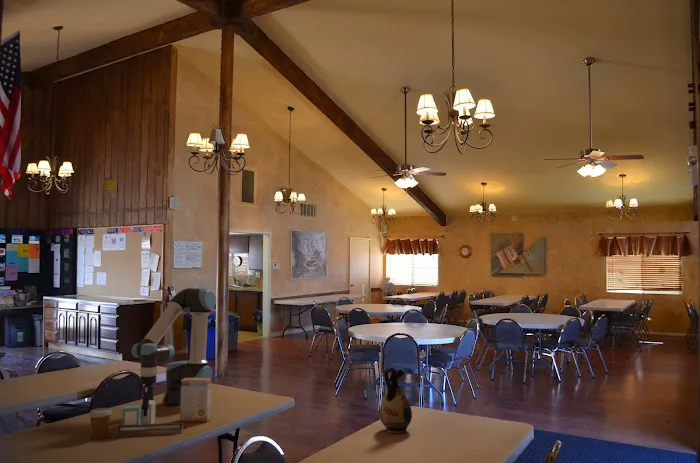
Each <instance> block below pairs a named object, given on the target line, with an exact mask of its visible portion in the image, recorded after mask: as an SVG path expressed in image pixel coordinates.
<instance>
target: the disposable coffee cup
mask: <svg viewBox="0 0 700 463" xmlns="http://www.w3.org/2000/svg"><path fill="white" fill-rule="evenodd" d="M89 411H90V412H89V414H88V415H89V417H90V427H91V435H92V437H91V438H92V439H94V440H101V439H106V438H107V437H108V435H109V428H110V422H111V417H112V416H111V415H112V414H113V411H112V409H111V408H109V407H99V408H93V409H91V410H89Z"/></svg>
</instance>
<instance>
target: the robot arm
mask: <svg viewBox="0 0 700 463" xmlns="http://www.w3.org/2000/svg"><path fill="white" fill-rule="evenodd" d="M215 294H216V293H214V292H213V290H211V289H209V288H195V287H194V288H193V287H192V288H190V287H189V288H188V287H187V288H184V289H181V290H180V291H178V292H177V293H176V294H175V295H174V296H172V298H171V299H170V300H169V301H168V303H167V307H166V309H165V310H164V311H163V312H162V314H161V315H160V316H159V317H158V319H157V321H155V323H154V324H153V326H152V327H151V328H150V330H149V331H148V332H147V334H146V335H145V336H144V338H143V339H142V340H141V342H136V343H135V344H133V346H132V347H131V354H132V356H133V357H134V358H137V359H140V368H139V372H140V380H139V383H140V384H141V385H144V387H143V394H142V402H143V403H142V402H141V403H142V408H141V409H143V414H142V423H148V419H149V409H148V406H149V400H155V399H154V386H153V385H154V384H156V383H157V373H158V372H157V370H158V369H157V367H158V366H157V363H158V362H159V361H160V362H161V361H165V360H169V359H171V358H173V357H174V355H175V352H176V351H175V347H174V346H173V345H172V344H169V343H165V344H159V343H160V341H162V339H163V337H164V336H165V335H166V333H167V331H169V329H170V327H172V325H173V324H174V323H175V321H176V319H177V318H178V317H179V315H182V314H183V313H184V312H185V311H186V310H189V313H190V315H191V316H192V317H191V332H190V348H189V350H190V351H189V360H180V361H179V360H178V361H173V362H170V363H167V365H166V370H165V392H164V395H163V398H162V401H161V402H162V406H165V407H181V380H182V379H184V378H211V379H212V377H213V369H212V367H211V366H209V361H208V360H207V358H206V357H207V344H208V343H207V342H208V322H209V316H210V314H211V313H212V310H214V308H215V307H216V304H217V296H216V295H215Z"/></svg>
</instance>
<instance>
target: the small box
mask: <svg viewBox="0 0 700 463" xmlns="http://www.w3.org/2000/svg"><path fill="white" fill-rule="evenodd" d="M156 402H157V401H156V400H155V399H154V400H149V406H148V409H149V419H148V423H142V414H143V409H141V425H146V424H155V421H156ZM142 403H143V401H142V402H141V403H140V404H139V405H141V408H142Z"/></svg>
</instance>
